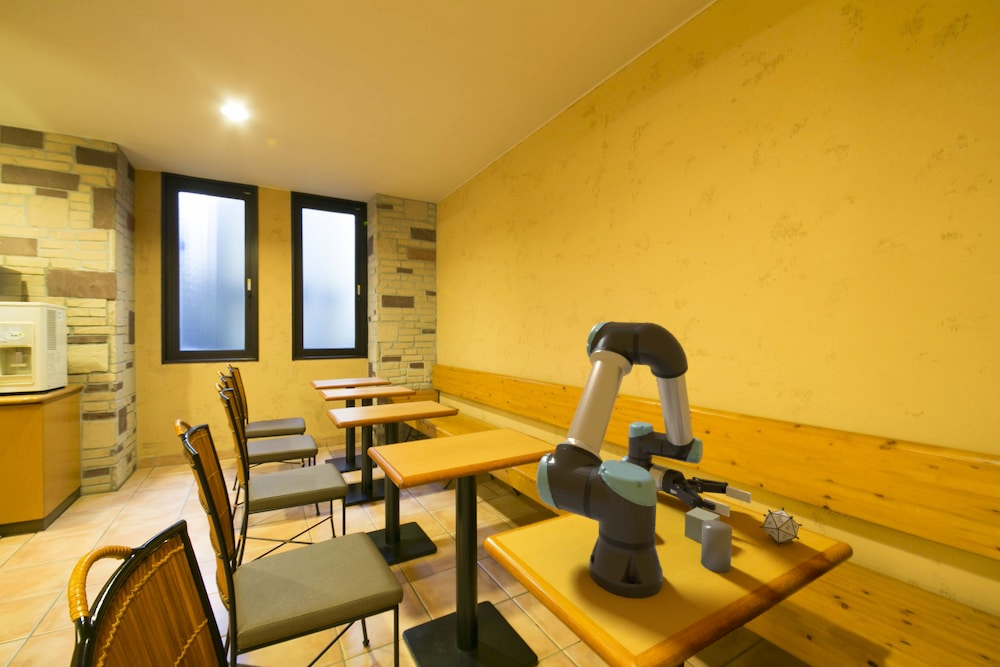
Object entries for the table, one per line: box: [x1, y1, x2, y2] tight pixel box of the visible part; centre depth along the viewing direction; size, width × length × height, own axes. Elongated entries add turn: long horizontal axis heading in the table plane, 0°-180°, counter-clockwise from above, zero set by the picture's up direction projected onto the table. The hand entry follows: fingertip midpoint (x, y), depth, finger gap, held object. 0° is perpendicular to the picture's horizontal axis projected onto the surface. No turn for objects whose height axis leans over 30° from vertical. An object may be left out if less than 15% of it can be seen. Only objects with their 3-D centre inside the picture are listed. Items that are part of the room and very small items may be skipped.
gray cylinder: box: [700, 520, 733, 574], centre depth 96 cm, size 6×6×9 cm
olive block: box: [684, 507, 721, 544], centre depth 108 cm, size 6×6×6 cm
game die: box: [759, 506, 803, 547], centre depth 107 cm, size 9×8×10 cm
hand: (740, 504), depth 114 cm, fingers open, 13 cm apart
